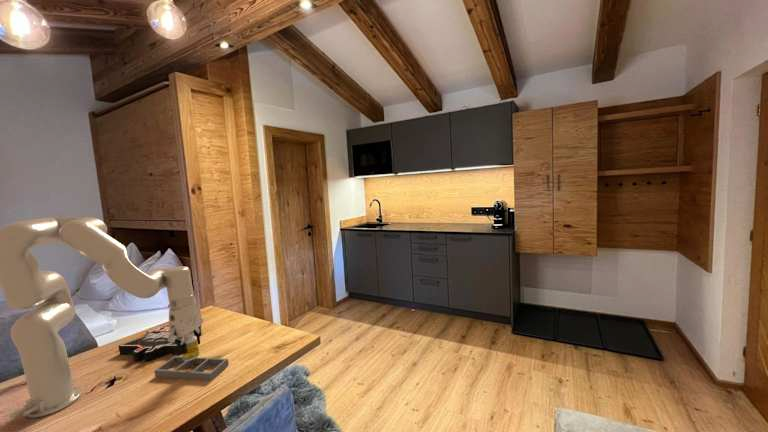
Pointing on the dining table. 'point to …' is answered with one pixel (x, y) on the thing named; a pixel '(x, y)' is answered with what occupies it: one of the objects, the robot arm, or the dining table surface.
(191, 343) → the supplement bottle
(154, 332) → the wall plaque
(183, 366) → the slot rack
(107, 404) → the dining table surface
